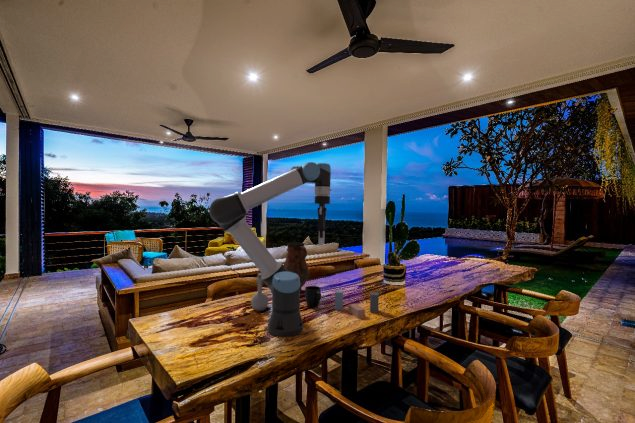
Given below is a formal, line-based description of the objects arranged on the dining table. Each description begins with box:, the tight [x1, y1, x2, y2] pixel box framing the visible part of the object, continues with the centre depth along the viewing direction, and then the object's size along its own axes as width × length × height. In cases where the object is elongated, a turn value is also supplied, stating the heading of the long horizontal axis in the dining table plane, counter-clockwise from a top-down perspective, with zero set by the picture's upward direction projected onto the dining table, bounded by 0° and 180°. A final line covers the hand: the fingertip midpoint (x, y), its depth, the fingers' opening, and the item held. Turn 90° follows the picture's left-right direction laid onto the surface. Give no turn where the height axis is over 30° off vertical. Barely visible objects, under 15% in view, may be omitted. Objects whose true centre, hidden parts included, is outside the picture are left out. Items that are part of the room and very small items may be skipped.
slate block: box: [334, 289, 344, 311], centre depth 153 cm, size 4×4×9 cm
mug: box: [304, 285, 322, 308], centre depth 156 cm, size 8×12×10 cm
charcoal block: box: [369, 291, 380, 314], centre depth 151 cm, size 4×4×9 cm
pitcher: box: [283, 242, 310, 294], centre depth 180 cm, size 17×21×30 cm
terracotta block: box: [347, 303, 366, 319], centre depth 146 cm, size 4×4×9 cm
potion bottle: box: [250, 272, 269, 312], centre depth 152 cm, size 9×9×18 cm
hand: (321, 244), depth 144 cm, fingers closed
